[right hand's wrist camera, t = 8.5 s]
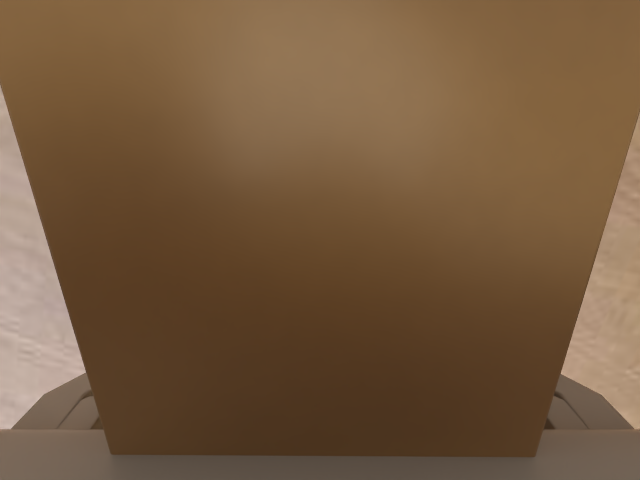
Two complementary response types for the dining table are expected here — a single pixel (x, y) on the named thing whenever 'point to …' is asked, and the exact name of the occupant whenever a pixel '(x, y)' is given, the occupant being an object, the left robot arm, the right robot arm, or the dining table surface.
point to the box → (322, 211)
